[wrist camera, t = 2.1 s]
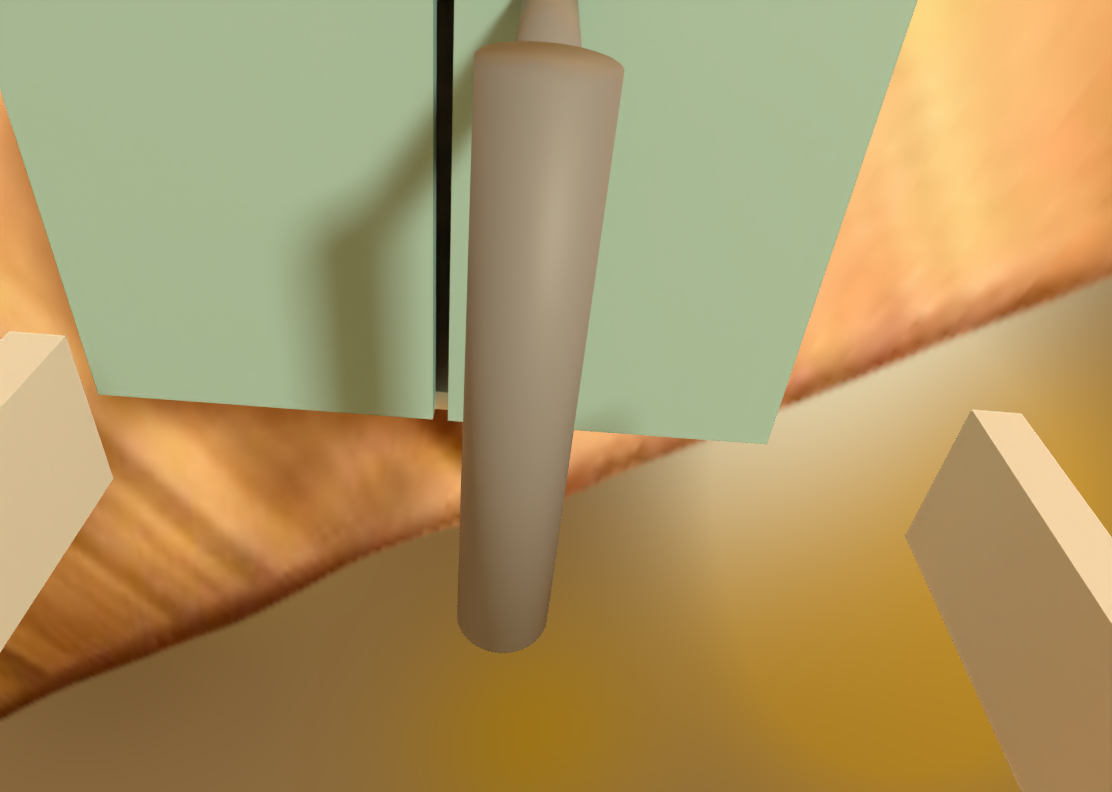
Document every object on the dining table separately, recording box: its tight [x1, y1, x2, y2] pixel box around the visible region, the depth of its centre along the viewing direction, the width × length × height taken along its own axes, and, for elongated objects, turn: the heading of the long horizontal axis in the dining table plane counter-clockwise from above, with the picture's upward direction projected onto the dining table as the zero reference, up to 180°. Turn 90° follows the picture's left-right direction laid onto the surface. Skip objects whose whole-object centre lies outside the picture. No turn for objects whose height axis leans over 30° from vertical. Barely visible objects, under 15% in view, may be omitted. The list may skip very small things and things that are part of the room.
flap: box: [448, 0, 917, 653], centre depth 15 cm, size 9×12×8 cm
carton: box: [435, 0, 454, 410], centre depth 22 cm, size 18×12×10 cm, turn 85°
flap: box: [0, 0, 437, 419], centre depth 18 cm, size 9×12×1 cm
